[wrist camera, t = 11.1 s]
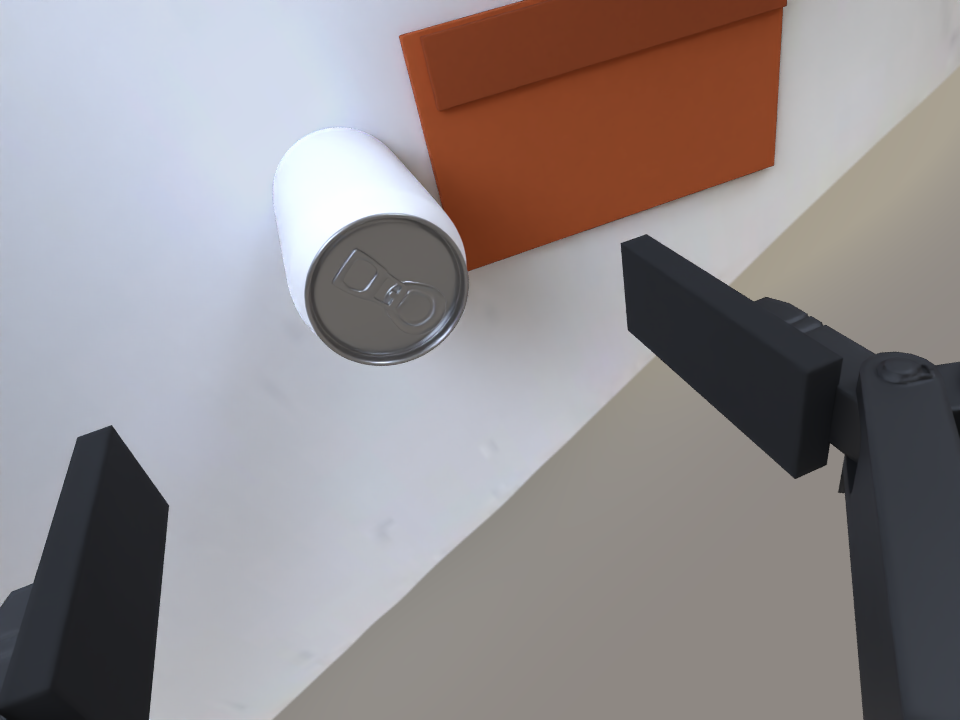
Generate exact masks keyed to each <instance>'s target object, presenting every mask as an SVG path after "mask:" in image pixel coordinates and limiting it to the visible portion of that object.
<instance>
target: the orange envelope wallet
mask: <svg viewBox="0 0 960 720" xmlns="http://www.w3.org/2000/svg"><path fill="white" fill-rule="evenodd" d="M785 6H787V0H524V1H520V2H517V3H513V4H510V5H506V6H502V7H499V8H495V9H492V10H488V11H485V12H481V13H478V14H474V15H471V16H467V17H463V18H460V19H456V20H453V21H449V22H446V23H442V24H439V25H435V26H432V27H428V28H424V29H421V30H417V31H414V32H410V33H407V34H403V35H400V36H399V38H400V42H401V46H402V50H403V54H404V58H405V62H406V66H407V70H408V74H409V78H410V82H411V86H412V90H413V94H414V97H415V101H416V105H417V109H418V113H419V117H420V121H421V125H422V129H423V133H424V137H425V141H426V145H427V149H428V153H429V157H430V160H431V164H432V168H433V172H434V176H435V180H436V184H437V188H438V192H439V196H440V200H441V204H442V208H443V210H444V211H445V213H446V214H447V215H448V217H449V218H450V219H451V221H452V222H453V224H454V225H455V227H456V229H457V231H458V233H459V235H460V237H461V240H462V243H463V246H464V250H465V255H466V267H467V271H470V270H473V269H476V268H479V267H482V266H485V265H488V264H491V263H494V262H496V261H499V260H502V259H505V258H508V257H511V256H514V255H517V254H520V253H522V252H525V251H528V250H531V249H534V248H537V247H540V246H543V245H546V244H548V243H551V242H554V241H557V240H560V239H563V238H566V237H569V236H572V235H574V234H577V233H580V232H583V231H586V230H589V229H592V228H595V227H598V226H600V225H603V224H606V223H609V222H612V221H615V220H618V219H621V218H624V217H626V216H629V215H632V214H635V213H638V212H641V211H644V210H647V209H650V208H652V207H655V206H658V205H661V204H664V203H667V202H670V201H673V200H676V199H678V198H681V197H684V196H687V195H690V194H693V193H696V192H699V191H702V190H704V189H707V188H710V187H713V186H716V185H719V184H722V183H725V182H728V181H730V180H733V179H736V178H739V177H742V176H745V175H748V174H751V173H754V172H756V171H759V170H762V169H765V168H768V167H771V166H774V157H775V139H776V122H777V104H778V86H779V69H780V51H781V34H782V16H783V7H785Z"/></svg>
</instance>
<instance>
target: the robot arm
mask: <svg viewBox="0 0 960 720" xmlns="http://www.w3.org/2000/svg"><path fill="white" fill-rule="evenodd" d="M621 253H622V265H623V277H624V290H625V302H626V314H627V326H628V331H629V332H631V333H632V334H633V335H634V336H635V337H636V338H637V339H638V340H640V341H641V342H642V343H643V344H644V345H645V346H646V347H647V348H649V349H650V350H651V351H652V352H653V353H654V354H655V355H656V356H658V357H659V358H660V359H661V360H662V361H663V362H664V363H665V364H667V365H668V366H669V367H670V368H671V369H672V370H673V371H674V372H676V373H677V374H678V375H679V376H680V377H681V378H682V379H683V380H684V381H686V382H687V383H688V384H689V385H690V386H691V387H692V388H694V389H695V390H696V391H697V392H698V393H699V394H701V396H702V397H704V398H705V399H706V400H707V401H708V402H709V403H710V404H711V405H713V406H714V407H715V408H716V409H717V410H718V411H719V412H720V413H722V414H723V415H724V416H725V417H726V418H728V420H729V421H731V422H732V423H733V424H734V425H735V426H736V427H737V428H738V429H739V430H741V431H742V432H743V433H744V434H745V435H746V436H747V437H749V438H750V439H751V440H752V441H753V442H754V443H755V444H756V445H757V446H759V447H760V448H761V449H762V450H763V451H764V452H765V453H767V454H768V455H769V456H770V457H771V458H772V459H773V460H774V461H775V462H777V463H778V464H779V465H780V466H781V467H782V468H783V469H784V470H786V471H787V472H788V473H789V474H790V475H791V476H792V477H793V478H794V479H796V478H798V477H801V476H803V475H805V474H807V473H810V472H812V471H814V470H816V469H818V468H821V467H823V466H825V465H827V459H828V453H829V446H830V443H831V444H832V445H833V446H835V447H836V448H837V449H839V450H840V451H841V452H842V453H844V454H845V457H844V463H843V468H842V474H841V480H840V485H839V491H838V492H839V493H845V500H846V512H847V524H848V535H849V549H850V560H851V573H852V584H853V596H854V609H855V621H856V632H857V633H856V634H857V646H858V657H859V670H860V682H861V694H862V707H863V719H864V720H960V362H956V363H949V364H941V365H934V364H932V363H931V362H929V361H928V360H927V359H924V358H922V357H919V356H916V355H913V354H908V353H901V352H885V353H878V354H874V353H873V352H871V351H869V350H868V349H866V348H864V347H862V346H861V345H859V344H857V343H856V342H854V341H852V340H851V339H849V338H847V337H846V336H844V335H842V334H841V333H839V332H837V331H835V330H834V329H832V328H830V327H829V326H827V325H824V326H823V324H822V322H820V321H819V320H817V319H815V318H814V317H812V316H810V317H809V316H808V314H806V313H805V312H803V311H802V310H800V309H798V308H797V307H795V306H793V305H791V304H790V303H786V302H783V301H779V300H776V299H772V298H768V297H765V298H762V299H759V300H757V301H752V300H750V299H749V298H747V297H746V296H744V295H742V294H741V293H739V292H738V291H736V290H735V289H733V288H731V287H730V286H728V285H727V284H725V283H723V282H722V281H720V280H719V279H717V278H715V277H714V276H712V275H711V274H709V273H707V272H706V271H704V270H703V269H701V268H699V267H698V266H696V265H695V264H693V263H691V262H690V261H688V260H687V259H685V258H684V257H682V256H680V255H679V254H677V253H676V252H674V251H672V250H671V249H669V248H668V247H666V246H664V245H663V244H661V243H660V242H658V241H656V240H655V239H653V238H652V237H650V236H648V235H647V234H646V235H643V236H640V237H637V238H635V239H632V240H629V241H626V242H623V243H621ZM168 511H169V505H168V503H167V502H166V501H165V499H164V498H163V496H162V495H161V494H160V492H159V491H158V489H157V488H156V487H155V485H154V484H153V482H152V481H151V480H150V478H149V477H148V475H147V474H146V473H145V471H144V470H143V468H142V467H141V466H140V464H139V463H138V461H137V460H136V459H135V457H134V456H133V454H132V453H131V452H130V450H129V449H128V447H127V446H126V444H125V443H124V442H123V440H122V439H121V437H120V436H119V435H118V433H117V432H116V430H115V429H114V428H113V426H112V425H111V426H108V427H105V428H103V429H100V430H97V431H94V432H91V433H89V434H86V435H83V436H80V437H77V441H76V444H75V447H74V451H73V454H72V457H71V461H70V464H69V467H68V471H67V474H66V477H65V480H64V484H63V487H62V490H61V494H60V497H59V500H58V504H57V507H56V510H55V514H54V517H53V520H52V523H51V527H50V530H49V533H48V537H47V540H46V543H45V547H44V550H43V553H42V557H41V560H40V563H39V566H38V570H37V573H36V576H35V580H34V583H33V584H30V585H28V586H25V587H23V588H20V589H18V590H15V591H12V592H11V593H10V595H9V596H8V597H7V599H6V600H5V602H4V603H3V604H2V606H1V607H0V720H149V713H150V702H151V691H152V681H153V670H154V660H155V649H156V638H157V628H158V617H159V607H160V596H161V585H162V575H163V564H164V553H165V543H166V532H167V522H168Z"/></svg>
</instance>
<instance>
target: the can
mask: <svg viewBox="0 0 960 720" xmlns="http://www.w3.org/2000/svg"><path fill="white" fill-rule="evenodd" d="M273 204H274V210H275V217H276V223H277V229H278V234H279V240H280V246H281V251H282V257H283V262H284V267H285V272H286V277H287V282H288V286H289V290H290V294H291V297H292V300H293V303H294V305H295V307H296V309H297V311H298V313H299V315H300V316H301V318H302V319H303V321H304V322H305V323H306V325H307V326H308V327H309V328H310V329H311V330H312V331H313V332H314V333H315V334H316V335H317V336H318V337H319V338H320V339H321V340H322V341H323V342H324V343H325V344H326V345H327V346H328V347H329V348H330V349H331V350H333V351H334V352H336V353H337V354H339V355H340V356H342V357H344V358H346V359H349V360H351V361H354V362H357V363H361V364H366V365H374V366H388V365H396V364H401V363H405V362H408V361H411V360H414V359H416V358H419V357H421V356H423V355H425V354H426V353H428V352H430V351H431V350H433V349H434V348H435V347H437V346H438V345H439V344H440V343H441V342H443V341H444V340H445V339H446V338H447V337H448V335H449V334H450V333H451V332H452V331H453V329H454V328H455V326H456V325H457V323H458V322H459V320H460V318H461V316H462V314H463V311H464V309H465V305H466V302H467V297H468V290H469V278H468V271H467V267H466V255H465V250H464V246H463V243H462V240H461V237H460V235H459V233H458V231H457V229H456V227H455V225H454V224H453V222H452V221H451V219H450V218H449V217H448V215H447V214H446V213H445V211H444V210H443V209H442V208H441V207H440V205H439V204H438V203H437V202H436V201H435V200H434V198H433V197H432V196H431V195H430V194H429V193H428V191H427V190H426V189H425V188H424V187H423V186H422V185H421V183H420V182H419V181H418V180H417V179H416V178H415V177H414V175H413V174H412V173H411V172H410V171H409V170H408V169H407V168H406V166H405V165H404V164H403V163H402V162H401V161H400V160H399V159H398V158H397V156H396V155H395V154H394V153H393V152H392V151H391V150H390V149H389V148H388V147H387V146H386V145H385V144H383V143H382V142H381V141H379V140H378V139H376V138H375V137H373V136H371V135H369V134H367V133H365V132H362V131H360V130H356V129H352V128H344V127H333V128H326V129H322V130H318V131H315V132H313V133H310V134H308V135H306V136H305V137H303V138H302V139H300V140H299V141H297V142H296V143H295V144H294V145H293V146H292V147H291V148H290V149H289V150H288V151H287V152H286V154H285V155H284V157H283V158H282V160H281V162H280V163H279V166H278V168H277V171H276V174H275V178H274V183H273Z"/></svg>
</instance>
